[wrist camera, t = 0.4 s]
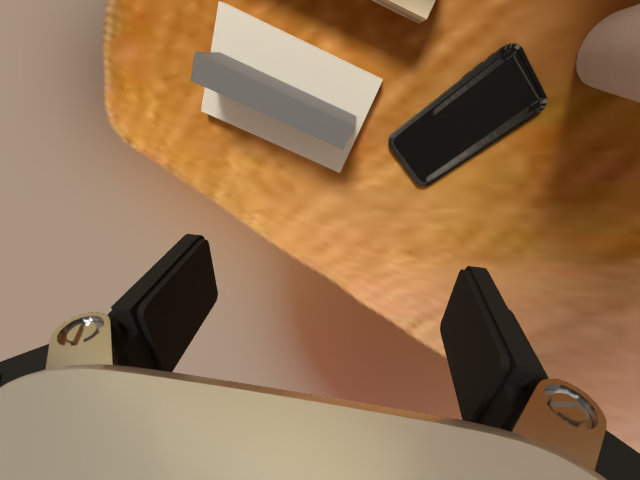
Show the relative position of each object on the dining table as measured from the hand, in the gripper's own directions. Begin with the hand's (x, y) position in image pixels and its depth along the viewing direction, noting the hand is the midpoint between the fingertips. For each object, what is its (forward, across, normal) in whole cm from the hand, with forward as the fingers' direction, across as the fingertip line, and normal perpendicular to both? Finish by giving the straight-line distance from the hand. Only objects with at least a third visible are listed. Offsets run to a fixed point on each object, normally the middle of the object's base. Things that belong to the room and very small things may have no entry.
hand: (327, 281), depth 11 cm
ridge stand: (+29, +8, -3) cm, 30 cm away
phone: (+29, -12, -1) cm, 31 cm away
